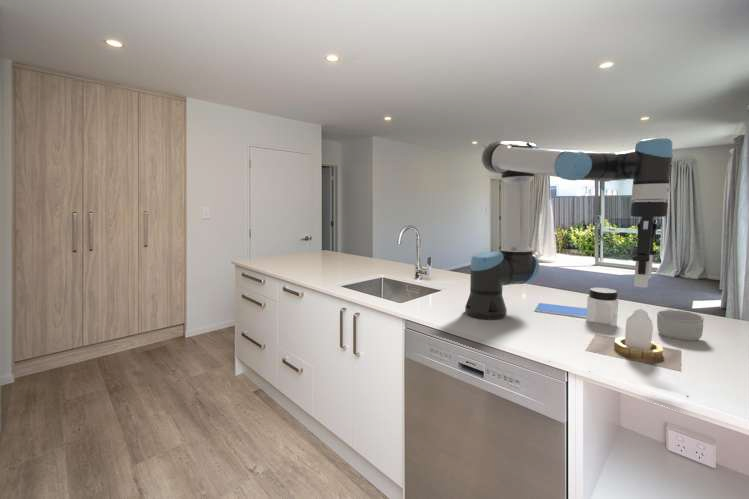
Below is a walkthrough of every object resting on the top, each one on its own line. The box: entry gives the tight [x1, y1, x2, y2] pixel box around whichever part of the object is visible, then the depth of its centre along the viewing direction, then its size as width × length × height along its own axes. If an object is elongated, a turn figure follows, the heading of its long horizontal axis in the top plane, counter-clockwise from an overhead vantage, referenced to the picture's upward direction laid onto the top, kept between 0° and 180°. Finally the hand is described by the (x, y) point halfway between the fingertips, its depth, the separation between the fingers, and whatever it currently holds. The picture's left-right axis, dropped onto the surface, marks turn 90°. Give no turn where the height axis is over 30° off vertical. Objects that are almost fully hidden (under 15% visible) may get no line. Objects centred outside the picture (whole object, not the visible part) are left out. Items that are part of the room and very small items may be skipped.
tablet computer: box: [533, 302, 587, 319], centre depth 140 cm, size 19×13×1 cm, turn 58°
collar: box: [614, 336, 664, 360], centre depth 97 cm, size 10×10×2 cm
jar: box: [585, 287, 619, 327], centre depth 123 cm, size 9×8×12 cm
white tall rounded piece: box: [624, 308, 654, 350], centre depth 96 cm, size 6×12×6 cm
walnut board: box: [585, 333, 682, 372], centre depth 98 cm, size 20×16×2 cm
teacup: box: [656, 308, 705, 342], centre depth 110 cm, size 14×11×8 cm
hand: (642, 282), depth 95 cm, fingers open, 13 cm apart
